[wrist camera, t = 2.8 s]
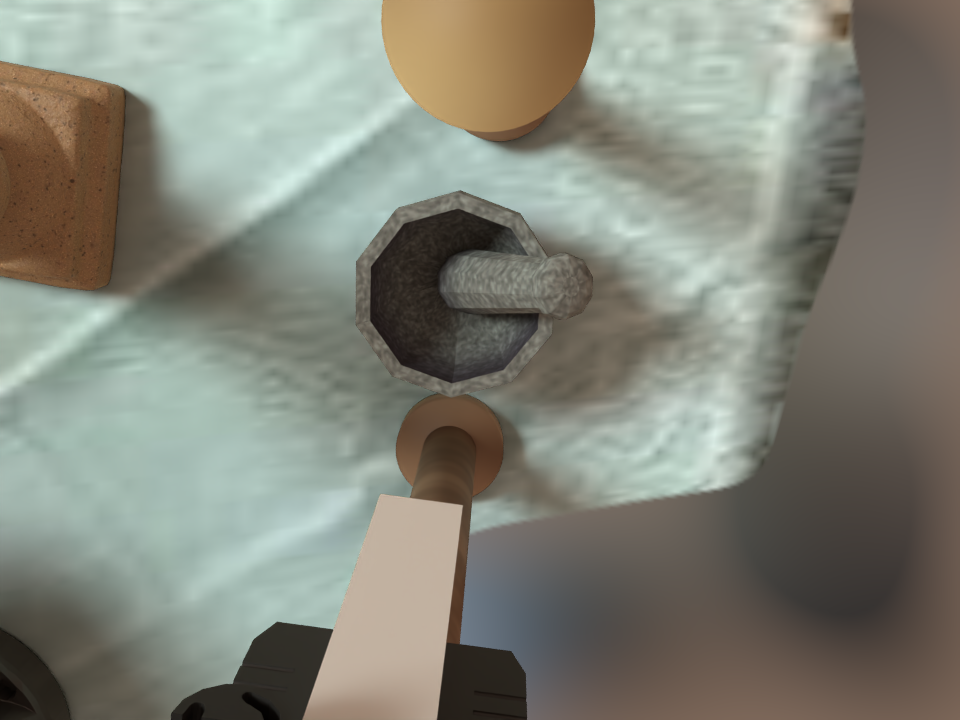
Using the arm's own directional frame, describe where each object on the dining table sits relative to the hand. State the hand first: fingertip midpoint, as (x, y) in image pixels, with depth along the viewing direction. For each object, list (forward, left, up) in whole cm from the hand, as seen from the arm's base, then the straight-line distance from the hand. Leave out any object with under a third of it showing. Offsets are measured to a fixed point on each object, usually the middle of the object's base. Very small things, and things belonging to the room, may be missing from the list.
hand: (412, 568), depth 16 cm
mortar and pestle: (0, 0, -34) cm, 34 cm away
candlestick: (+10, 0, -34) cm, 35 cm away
